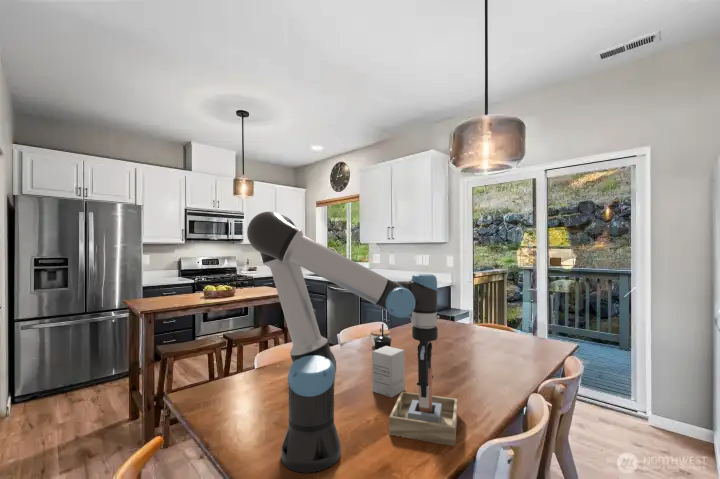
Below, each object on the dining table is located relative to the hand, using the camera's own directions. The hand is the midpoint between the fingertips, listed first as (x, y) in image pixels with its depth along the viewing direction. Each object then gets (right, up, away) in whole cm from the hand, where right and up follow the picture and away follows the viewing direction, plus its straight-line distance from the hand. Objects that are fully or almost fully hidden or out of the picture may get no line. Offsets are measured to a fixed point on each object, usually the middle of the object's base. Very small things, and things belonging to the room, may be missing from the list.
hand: (425, 403), depth 103 cm
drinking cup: (-10, -7, +44) cm, 46 cm away
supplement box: (-9, -7, +24) cm, 26 cm away
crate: (0, -6, 0) cm, 6 cm away
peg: (0, -4, 0) cm, 4 cm away
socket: (0, -6, 0) cm, 6 cm away
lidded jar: (-9, -8, +80) cm, 81 cm away
